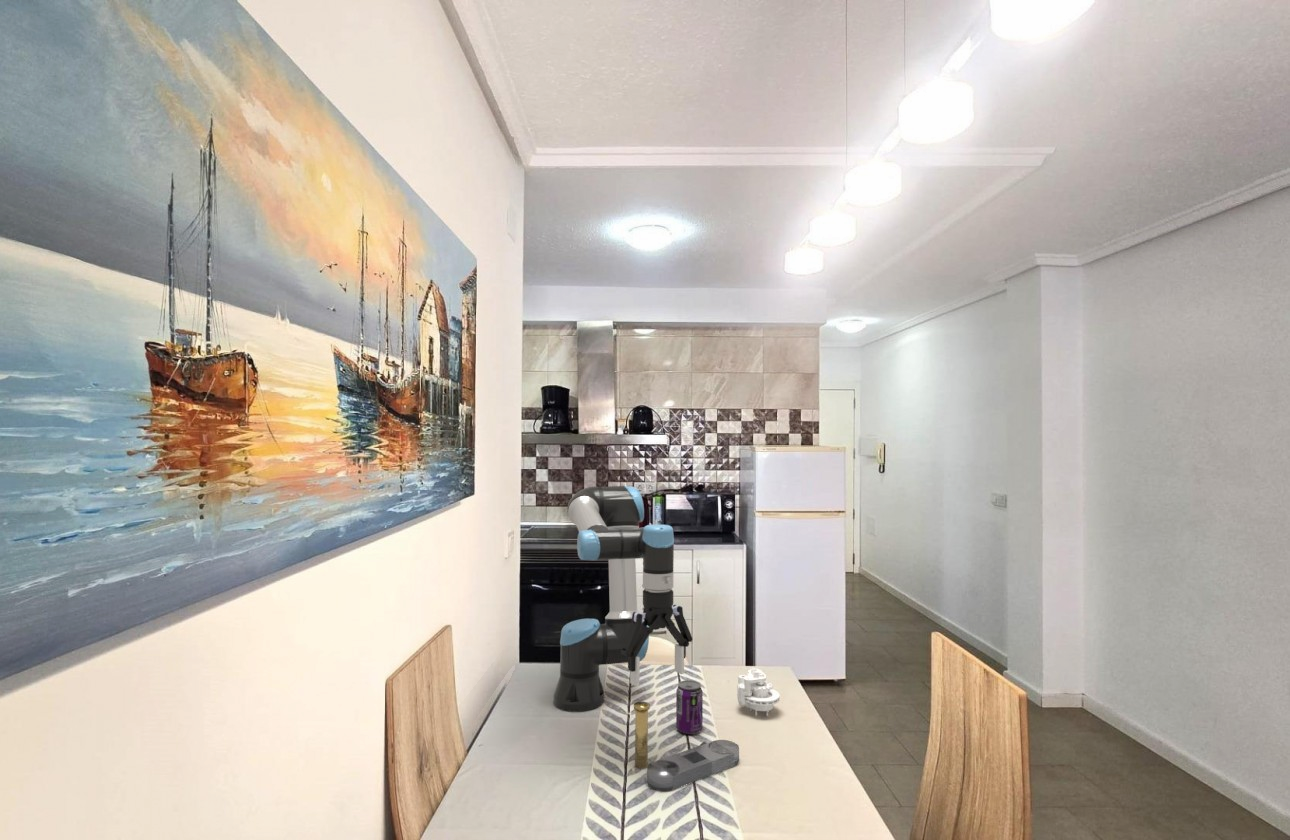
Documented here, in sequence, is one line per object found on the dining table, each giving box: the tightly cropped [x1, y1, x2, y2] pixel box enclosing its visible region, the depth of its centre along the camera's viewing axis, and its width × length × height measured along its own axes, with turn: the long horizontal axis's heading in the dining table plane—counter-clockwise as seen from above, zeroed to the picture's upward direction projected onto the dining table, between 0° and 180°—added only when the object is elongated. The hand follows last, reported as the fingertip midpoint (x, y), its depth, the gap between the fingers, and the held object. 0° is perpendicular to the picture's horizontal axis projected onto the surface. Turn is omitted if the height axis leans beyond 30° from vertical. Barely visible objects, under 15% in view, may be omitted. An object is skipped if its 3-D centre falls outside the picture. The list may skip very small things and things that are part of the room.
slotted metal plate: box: [646, 739, 740, 793], centre depth 138 cm, size 7×26×3 cm, turn 124°
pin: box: [633, 700, 650, 769], centre depth 141 cm, size 4×4×14 cm
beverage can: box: [675, 679, 704, 735], centre depth 159 cm, size 7×7×12 cm
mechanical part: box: [736, 667, 780, 717], centre depth 171 cm, size 11×12×12 cm
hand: (657, 678), depth 142 cm, fingers open, 13 cm apart
